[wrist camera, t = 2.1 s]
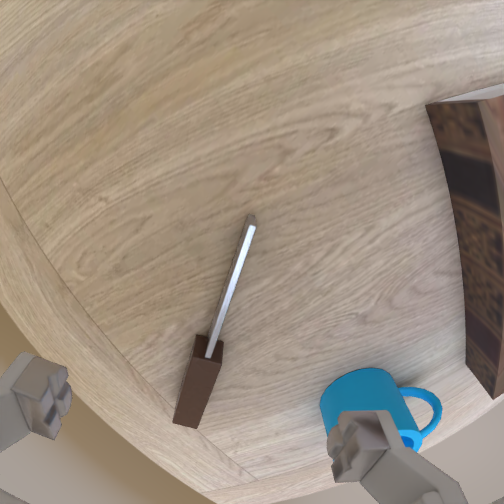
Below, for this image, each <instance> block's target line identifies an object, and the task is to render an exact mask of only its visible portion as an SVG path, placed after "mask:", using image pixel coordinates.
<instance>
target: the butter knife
mask: <svg viewBox="0 0 504 504" xmlns="http://www.w3.org/2000/svg"><path fill="white" fill-rule="evenodd" d="M256 228H257V225H256V218H255V215H252V214H248V217H247V220H246V223H245V226H244V229H243V232H242V235H241V238H240V241H239V244H238V247H237V250H236V253H235V256H234V259H233V262H232V264H231V267H230V270H229V273H228V276H227V279H226V282H225V285H224V288H223V291H222V294H221V297H220V300H219V303H218V306H217V309H216V312H215V316H214V319H213V322H212V325H211V328H210V331H209V334H208V337H204V336H200V335H196V337H195V340H194V344H193V347H192V351H191V354H190V357H189V361H188V364H187V367H186V371H185V374H184V378H183V381H182V385H181V388H180V392H179V395H178V399H177V402H176V407H175V412H174V417H173V423H175V424H178V425H182V426H186V427H190V428H194V429H197V428H198V425H199V423H200V420H201V417H202V415H203V412H204V410H205V407H206V405H207V402H208V399H209V397H210V394H211V392H212V389H213V386H214V384H215V381H216V379H217V376H218V373H219V371H220V368H221V366H222V357H223V345H224V342H222V341H218V340H217V339H218V336H219V333H220V330H221V327H222V325H223V322H224V319H225V316H226V313H227V310H228V307H229V305H230V302H231V299H232V296H233V293H234V290H235V288H236V285H237V282H238V279H239V276H240V273H241V270H242V268H243V265H244V262H245V259H246V256H247V253H248V251H249V248H250V245H251V242H252V239H253V236H254V234H255V231H256Z"/></svg>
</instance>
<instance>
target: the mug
mask: <svg viewBox="0 0 504 504" xmlns="http://www.w3.org/2000/svg"><path fill="white" fill-rule="evenodd" d="M402 396H412V397H417V398H421V399H423V400H425V401H427V402H428V403H429V404H430V405H431V406H432V408H433V411H434V414H433V418H432V420H431V421H430V423H429V424H428V425H427V426H426V427H425V428H423V429H422V430H421V431H419V429H418V427H417V425H416V423H415V421H414V419H413V417H412V415H411V413H410V411H409V409H408V407H407V405H406V403H405V401H404V399H403V397H402ZM320 409H321V413H322V417H323V421H324V425H325V429H326V433H327V437H328V434H329V432H330V430H331V428H332V427H334V426H335V425H337V424H338V420H337V418H338V416H339V415H340V413H342V412H343V411H367V410H371V411H373V410H387V411H389V412H390V414H391V416H392V418H393V421H394V423H395V425H396V427H397V429H398V432H399V434H400V436H401V438H402V440H403V443H404V445H405V447H410V448H411V449H413V450H414V451H415V452H417V451H418V450H419V448H420V447H421V445H422V439H423V438H425V437H426V436H427V435H428V434H429V433H431V432H432V431H433V430H434V429H435V428H436V426H437V424H438V423H439V421H440V420H441V415H442V405H441V402H440V400H439V399H438V398H437V397H436V396H435V395H434V394H433V393H432V392H429V391H427V390H425V389H421V388H416V387H400V388H397V386H396V384H395V382H394V380H393V378H392V377H391V375H390V374H389V373H388V372H386V371H384V370H382V369H376V368H366V369H359V370H356V371H353V372H350V373H347V374H346V375H344V376H342V377H340V378H339V379H337V380H335V381H334V382H333V383H332V384H331V385H330V386H329V387H328V388H327V389H326V390H325V392H324V394H323V395H322V397H321V401H320ZM333 462H334V460H333Z"/></svg>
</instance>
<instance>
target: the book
mask: <svg viewBox="0 0 504 504" xmlns="http://www.w3.org/2000/svg"><path fill="white" fill-rule="evenodd" d="M425 106H426V109H427V112H428V115H429V118H430V121H431V124H432V127H433V130H434V134H435V137H436V140H437V144H438V147H439V151H440V155H441V158H442V162H443V166H444V170H445V174H446V178H447V183H448V187H449V192H450V196H451V201H452V206H453V212H454V217H455V223H456V229H457V235H458V242H459V249H460V257H461V265H462V275H463V286H464V299H465V320H466V365H467V366H468V368H469V369H470V370H471V371H472V373H473V374H474V375H475V377H476V378H477V379H478V381H479V382H480V383H481V384H482V386H483V387H484V388H485V390H486V391H487V392H488V394H489V395H490V397H491V398H492V399H493V400H494V399H495V398H497V397H498V396H500V395H501V394H503V393H504V83H503V84H499V85H495V86H491V87H487V88H483V89H479V90H476V91H472V92H468V93H465V94H461V95H458V96H454V97H451V98H448V99H444V100H441V101H438V102H434V103H431V104H428V105H425Z"/></svg>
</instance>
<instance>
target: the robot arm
mask: <svg viewBox="0 0 504 504" xmlns="http://www.w3.org/2000/svg"><path fill="white" fill-rule="evenodd" d="M68 376H69V375H68V371H67V368H66V367H64V366H62V365H59V364H57V363H54V362H51V361H49V360H46V359H43V358H41V357H38V356H35V355H32V354H30V353H27V352H25V351H24V352H21V353H20V354H19V355H18V356H17V358H16V359H15V360H14V362H13V363H12V364H11V365H10V366H9V368H8V369H7V370H6V372H5V373H4V374H3V375H2V377H1V378H0V452H2V451H3V450H5V449H7V448H8V447H10V446H11V445H13V444H14V443H16V442H18V441H19V440H21V439H22V438H24V437H25V436H27V435H28V434H30V431H31V432H34V433H37V434H39V435H42V436H44V437H47V438H49V439H52V440H55V438H56V436H57V434H58V432H59V430H60V428H61V426H62V424H61V420H60V417H63V416H64V415H66V414H67V413H68V411H69V409H70V406H71V402H72V389H71V386H70V385H69V383H68V382H67V381H66V380H67V378H68ZM337 420H338V424H337V425H335V426H334V427H332V428H331V430H330V432H329V434H328V438H327V451H328V455H329V456H330V457H331V458H332V459H333V460H334V462H333V464H332V465H331V468H332V472H333V476H334V480H335V483H342V482H357V481H360V484H361V485H362V486H363V487H364V488H365V489H366V490H367V491H368V492H369V493H370V494H371V496H372V497H373V498H374V499H375V500H376V501H377V502H379V504H468V502H467V500H466V498H465V496H464V493H463V491H462V489H461V487H460V485H459V483H458V482H457V481H455V480H454V479H453V478H451V477H450V476H448V475H447V474H445V473H444V472H443V471H441V470H440V469H439V468H437V467H436V466H435V465H433V464H432V463H430V462H429V461H428V460H426V459H425V458H424V457H422V456H421V455H419V454H418V453H417V452H415V451H414V450H413V449H411V448H410V447H405V445H404V443H403V440H402V438H401V436H400V434H399V432H398V429H397V427H396V425H395V423H394V421H393V418H392V416H391V414H390V412H389V411H387V410H373V411H371V410H367V411H343V412H342V413H340V415H339V416H338V418H337ZM0 504H29V503H27V502H25V501H23V500H21V499H19V498H17V497H15V496H13V495H11V494H9V493H8V492H6V491H4V490H2V489H0ZM490 504H504V497H502V498H500V499H498V500H496V501H494V502H492V503H490Z"/></svg>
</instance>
